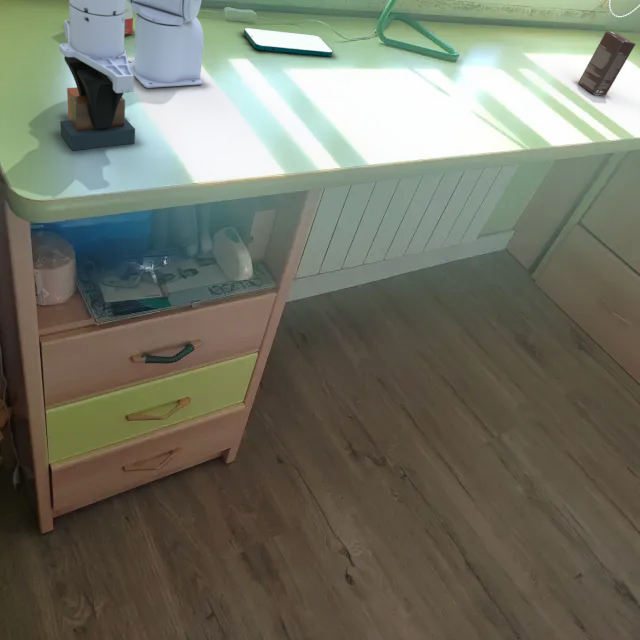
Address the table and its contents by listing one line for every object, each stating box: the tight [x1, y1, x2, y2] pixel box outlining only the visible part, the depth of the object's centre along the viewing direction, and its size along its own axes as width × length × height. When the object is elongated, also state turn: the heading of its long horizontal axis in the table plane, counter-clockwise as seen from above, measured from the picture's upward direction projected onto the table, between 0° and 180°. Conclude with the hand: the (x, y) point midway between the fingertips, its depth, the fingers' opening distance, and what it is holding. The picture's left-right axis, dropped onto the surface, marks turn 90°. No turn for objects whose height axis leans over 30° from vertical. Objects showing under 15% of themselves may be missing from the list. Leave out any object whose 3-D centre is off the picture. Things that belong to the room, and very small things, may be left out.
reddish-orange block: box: [66, 86, 79, 120], centre depth 77 cm, size 4×4×4 cm
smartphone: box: [243, 27, 334, 57], centre depth 115 cm, size 8×1×16 cm
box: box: [577, 30, 636, 96], centre depth 137 cm, size 6×4×12 cm
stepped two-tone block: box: [59, 95, 136, 151], centre depth 74 cm, size 8×4×6 cm, turn 127°
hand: (98, 121), depth 75 cm, fingers closed on stepped two-tone block, 2 cm apart
